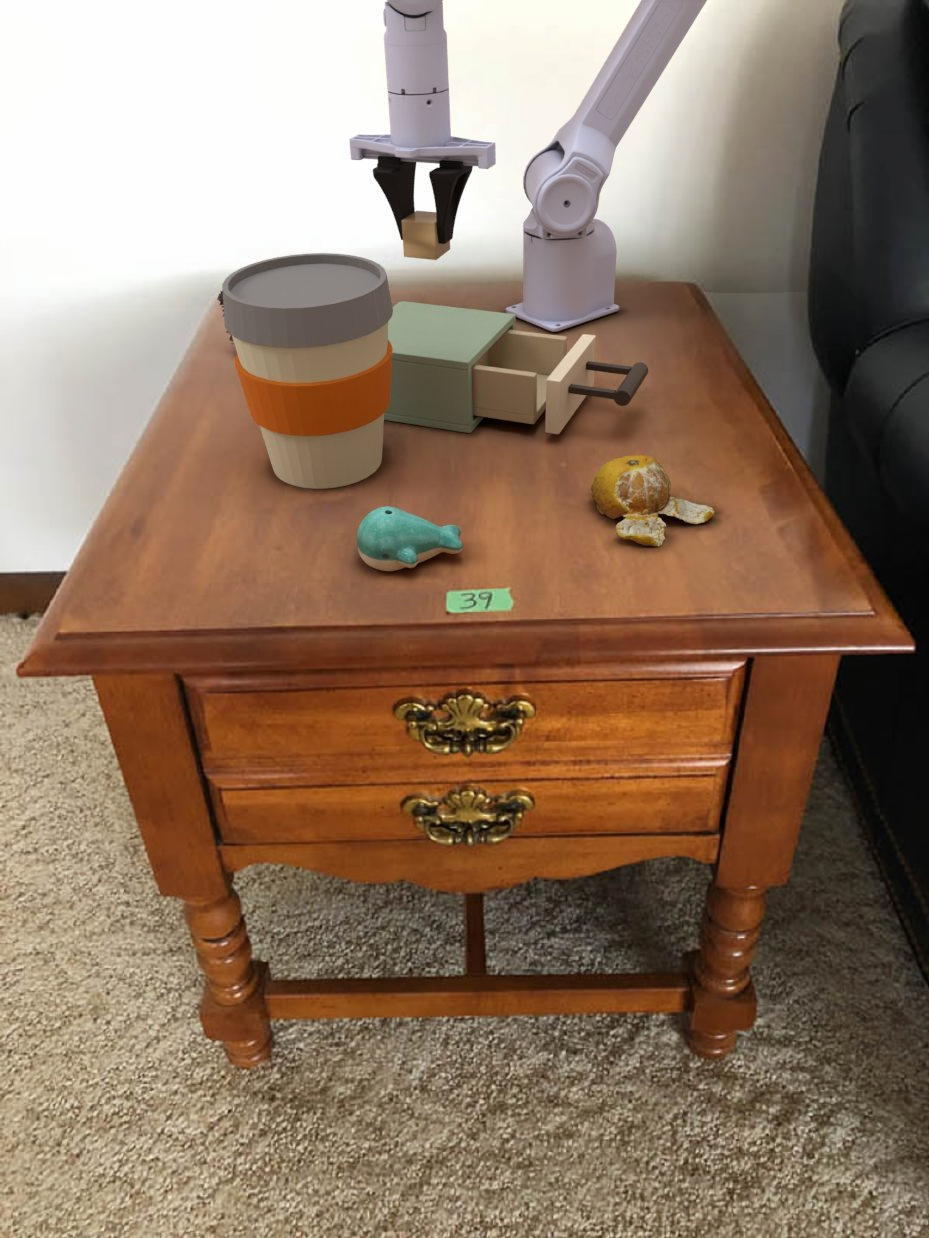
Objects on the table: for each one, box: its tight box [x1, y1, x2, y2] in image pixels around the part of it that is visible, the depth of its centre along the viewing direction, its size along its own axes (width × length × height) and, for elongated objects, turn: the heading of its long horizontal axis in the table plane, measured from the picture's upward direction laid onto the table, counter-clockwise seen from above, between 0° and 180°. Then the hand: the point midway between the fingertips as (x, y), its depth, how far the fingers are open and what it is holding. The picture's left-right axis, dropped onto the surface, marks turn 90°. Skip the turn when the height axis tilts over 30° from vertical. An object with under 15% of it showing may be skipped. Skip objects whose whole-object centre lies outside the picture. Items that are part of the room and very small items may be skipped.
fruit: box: [590, 454, 715, 547], centre depth 75 cm, size 8×8×4 cm
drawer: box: [471, 329, 649, 435], centre depth 88 cm, size 16×10×5 cm, turn 68°
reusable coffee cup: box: [221, 252, 394, 490], centre depth 80 cm, size 13×13×15 cm
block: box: [402, 210, 451, 261], centre depth 103 cm, size 4×4×4 cm
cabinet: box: [384, 300, 517, 434], centre depth 92 cm, size 11×11×6 cm
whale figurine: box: [356, 505, 464, 572], centre depth 71 cm, size 6×7×4 cm
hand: (426, 239), depth 104 cm, fingers closed on block, 3 cm apart
